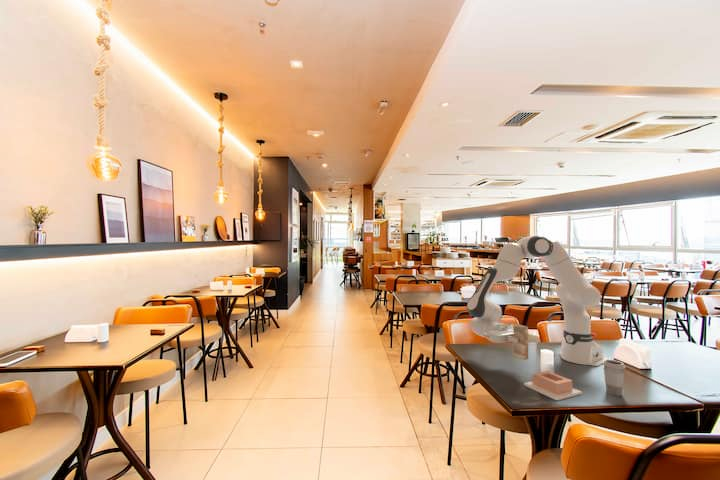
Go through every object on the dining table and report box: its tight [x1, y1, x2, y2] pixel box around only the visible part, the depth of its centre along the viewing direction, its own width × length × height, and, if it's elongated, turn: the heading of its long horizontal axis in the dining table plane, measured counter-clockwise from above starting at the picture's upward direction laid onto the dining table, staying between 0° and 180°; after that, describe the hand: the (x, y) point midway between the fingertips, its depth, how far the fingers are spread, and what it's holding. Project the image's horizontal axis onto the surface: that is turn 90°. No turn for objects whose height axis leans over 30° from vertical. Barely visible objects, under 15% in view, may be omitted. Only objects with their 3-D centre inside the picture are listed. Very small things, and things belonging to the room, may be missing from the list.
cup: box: [601, 359, 626, 397], centre depth 125 cm, size 7×7×12 cm
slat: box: [512, 323, 529, 361], centre depth 142 cm, size 3×5×14 cm, turn 23°
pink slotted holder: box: [523, 370, 583, 401], centre depth 128 cm, size 14×14×5 cm
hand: (522, 340), depth 141 cm, fingers closed on slat, 3 cm apart
